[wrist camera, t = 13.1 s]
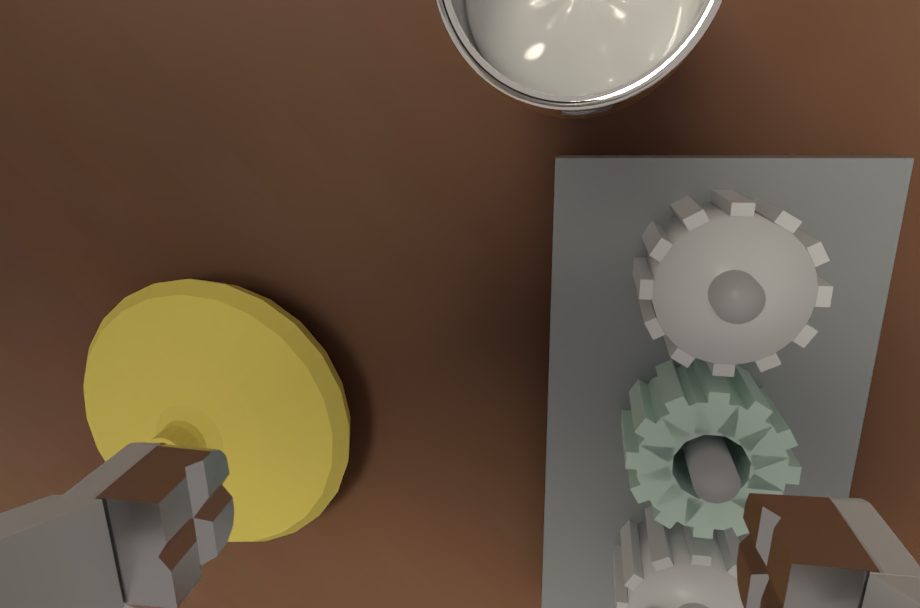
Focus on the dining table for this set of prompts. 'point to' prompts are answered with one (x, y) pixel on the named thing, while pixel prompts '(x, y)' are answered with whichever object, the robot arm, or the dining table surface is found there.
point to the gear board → (632, 353)
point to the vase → (224, 396)
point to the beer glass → (576, 48)
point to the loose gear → (695, 414)
